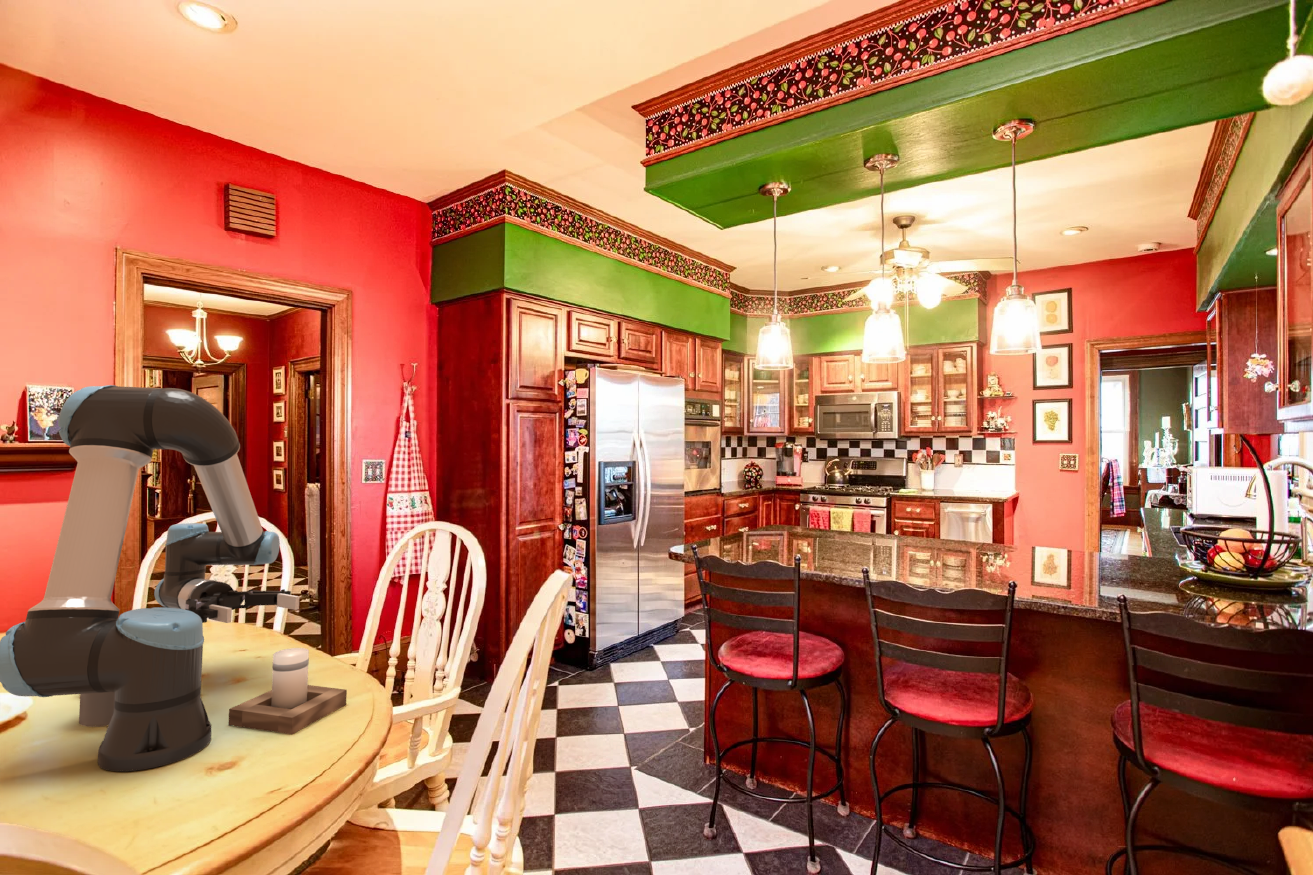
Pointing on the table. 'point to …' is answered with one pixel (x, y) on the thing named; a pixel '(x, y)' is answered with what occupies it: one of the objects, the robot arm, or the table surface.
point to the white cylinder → (290, 677)
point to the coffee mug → (96, 709)
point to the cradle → (287, 711)
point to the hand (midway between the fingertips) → (265, 609)
